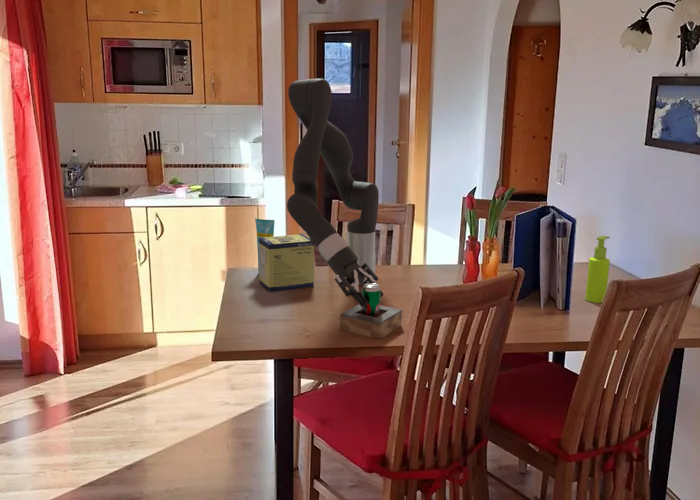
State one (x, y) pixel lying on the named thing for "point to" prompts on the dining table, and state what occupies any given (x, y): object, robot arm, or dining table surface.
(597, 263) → the soap dispenser
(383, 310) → the square holder
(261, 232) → the tube
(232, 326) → the dining table surface
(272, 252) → the protein box
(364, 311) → the soda can
